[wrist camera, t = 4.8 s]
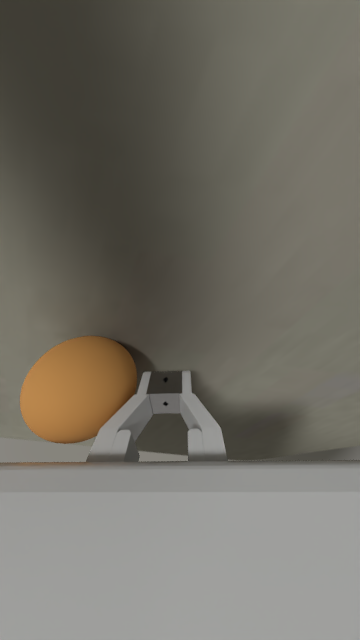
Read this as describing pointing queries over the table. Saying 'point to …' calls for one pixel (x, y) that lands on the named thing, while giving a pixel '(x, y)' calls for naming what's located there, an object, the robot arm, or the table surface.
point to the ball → (77, 388)
